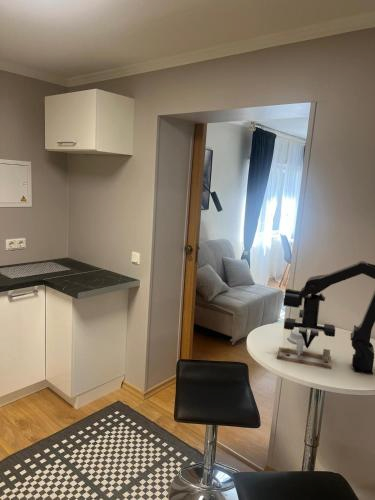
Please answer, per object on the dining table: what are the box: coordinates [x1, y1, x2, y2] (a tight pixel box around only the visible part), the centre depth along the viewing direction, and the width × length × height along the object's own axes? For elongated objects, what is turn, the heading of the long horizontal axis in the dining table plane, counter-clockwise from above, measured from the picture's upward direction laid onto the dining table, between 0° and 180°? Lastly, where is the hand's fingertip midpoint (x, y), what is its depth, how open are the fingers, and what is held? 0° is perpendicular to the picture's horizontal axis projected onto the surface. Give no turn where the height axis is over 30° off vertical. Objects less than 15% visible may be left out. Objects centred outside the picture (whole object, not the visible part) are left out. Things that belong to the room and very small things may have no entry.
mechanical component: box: [287, 328, 310, 346], centre depth 163 cm, size 10×4×10 cm
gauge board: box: [276, 346, 333, 370], centre depth 145 cm, size 20×9×4 cm, turn 70°
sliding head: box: [295, 339, 304, 357], centre depth 145 cm, size 2×6×5 cm, turn 160°
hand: (307, 347), depth 146 cm, fingers closed
